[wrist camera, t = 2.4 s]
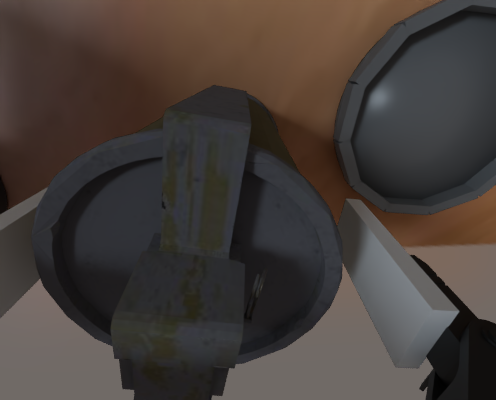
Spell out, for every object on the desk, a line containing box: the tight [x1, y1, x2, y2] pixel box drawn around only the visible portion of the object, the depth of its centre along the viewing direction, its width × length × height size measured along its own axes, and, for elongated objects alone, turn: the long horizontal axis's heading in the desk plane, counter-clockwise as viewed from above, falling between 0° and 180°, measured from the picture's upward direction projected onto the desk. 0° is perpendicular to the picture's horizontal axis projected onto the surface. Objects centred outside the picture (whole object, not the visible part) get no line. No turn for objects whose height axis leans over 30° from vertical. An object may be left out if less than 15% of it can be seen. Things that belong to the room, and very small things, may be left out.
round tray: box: [333, 0, 496, 215], centre depth 22 cm, size 18×18×2 cm
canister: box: [31, 85, 343, 400], centre depth 15 cm, size 11×10×20 cm
